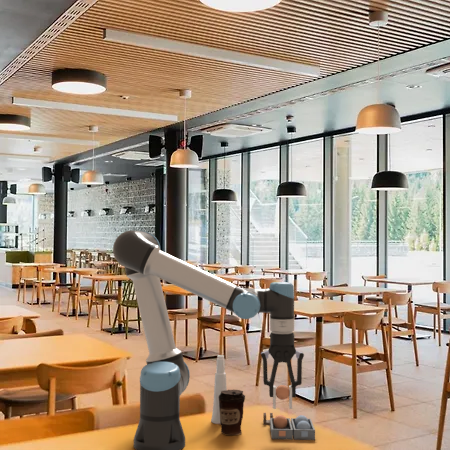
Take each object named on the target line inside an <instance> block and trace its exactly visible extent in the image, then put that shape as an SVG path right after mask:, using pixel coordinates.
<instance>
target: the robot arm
mask: <svg viewBox="0 0 450 450" xmlns="http://www.w3.org/2000/svg"><path fill="white" fill-rule="evenodd" d="M112 252H113V256H114V258H115V260H116V261H117V263H118V264H119V265H121V266H122V267H124V271H125V275H126V277H127V278H128V279H129V280H131V281H132V283H133V288H134V292H135V297H136V302H137V305H138V310H139V315H140V318H141V319H140V320H141V323H142V328H143V332H144V335H145V340H146V344H147V345H146V346H147V349H148V352H149V353H148V356H147V357H146V360H145V362H146V364H145V365H144V366H143V367H142V368H141V370H140V376H139V422H138V424H137V427H136V430H135V433H134V437H133V448H134V450H182V449H184V448H185V446H186V435H185V432H184V429H183V426H182V422H181V419H180V411H181V410H180V405H181V404H180V403H181V402H180V401H181V399H180V396H181V395H182V394H183V393H184V392H185V391H186V389H187V388H188V385H189V382H190V376H191V375H190V369H189V366H188V364H187V363H186V362H185V359H184V356H183V352H182V350H181V349H179V348H178V347H177V345H176V342H175V339H174V335H173V330H172V326H171V322H170V316H169V313H168V308H167V305H166V301H165V300H166V299H165V296H164V292H163V286H162V282H161V280H163V281H165V282H167V283H169V284H172V285H174V286H175V287H178V288H180V289H183V290H184V291H187V292H189V293H191V294H193V295H195V296H198V297H200V298H202V299H204V300H206V301H208V302H210V303H213V304H215V305H217V306H220V307H221V308H223V309H226V310H227V311H229V312H230V313H231V312H232V313H233V314H235V316H237V317H238V318H239V319H242V320H249V319H252V318H254V317H256V316H257V314H259V313H260V314H262V313H264V314H265V313H267V314H268V313H269V330H270V334H269V343H270V344H269V347H268V349H267V350H265V351H261V352H260V355H261V359H262V371H263V372H262V374H263V375H262V376H263V378H262V379H263V385H264V386H268V388H269V389H268V392H269V397H270V398H272V408H273V409H274V410H275V409H277V396H276V388H277V386H276V385H274V384H275V379H276V375H277V371H278V366H279V363H286V367H287V370H288V377H289V380H290V385H288V389H289V396H288V408H289V410H291V409H293V398H296V395H297V392H296V391H297V389H296V388H297V386H301V385H302V380H303V379H302V378H303V377H302V376H303V359H304V356H305V354H304V352H303V351H298V350H297V349H296V347H295V333H294V332H295V291H294V290H295V289H294V288H295V287H294V285H293V283H292V282H286V281H283V282H282V281H279V282H277V281H276V282H275V281H273V282H271V283H269V288H244V287H240V286H237V285H236V284H234V283H232V282H230V281H227V280H226V279H223V278H221V277H219V276H216V275H214V274H212V273H210V272H208V271H205V270H203V269H201V268H199V267H197V266H196V265H195V266H194V265H193V264H191V263H188V262H186V261H184V260H182V259H180V258H178V257H175V256H173V255H171V254H169V253H167V252H166V251H165V252H164V251H163V250H161V245H160V242H159V240H158V239H157V237H156V236H155V235H153V234H152V233H150V232H149V231H144V230H133V229H132V230H131V229H130V230H126V231H123V232H122V233H120V234H119V235H118V236H117V237H116V238H115V241H114V242H113V247H112ZM269 355H270V356H271V358H272V359H273V364H272V368H271V374H270V378H269V380H268V360H267V359H269ZM294 356H295V357H296V359H297V361H296V362H297V363H296V379H295V376H294V371H293V367H292V362H291V360H292V359H293V357H294Z"/></svg>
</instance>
